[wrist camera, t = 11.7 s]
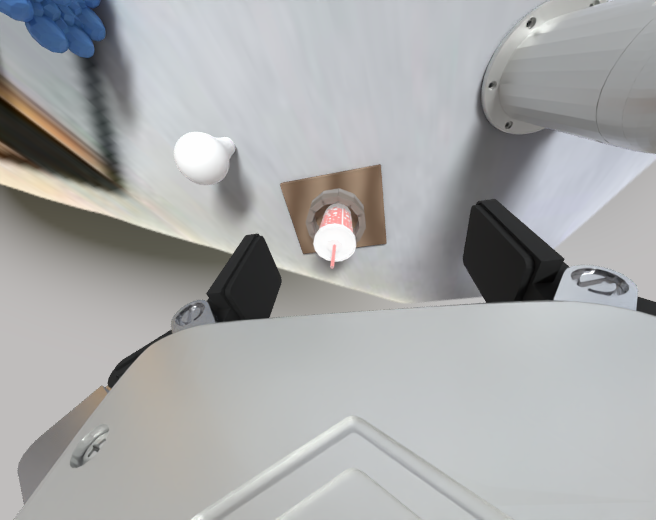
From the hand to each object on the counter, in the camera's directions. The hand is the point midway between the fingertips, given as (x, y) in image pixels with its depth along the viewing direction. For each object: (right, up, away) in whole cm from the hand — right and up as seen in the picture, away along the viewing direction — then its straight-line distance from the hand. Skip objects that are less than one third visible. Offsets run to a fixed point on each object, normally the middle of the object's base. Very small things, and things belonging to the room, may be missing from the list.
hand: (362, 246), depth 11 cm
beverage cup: (0, +7, +30) cm, 31 cm away
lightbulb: (-17, +17, +25) cm, 34 cm away
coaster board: (0, +7, +30) cm, 31 cm away
